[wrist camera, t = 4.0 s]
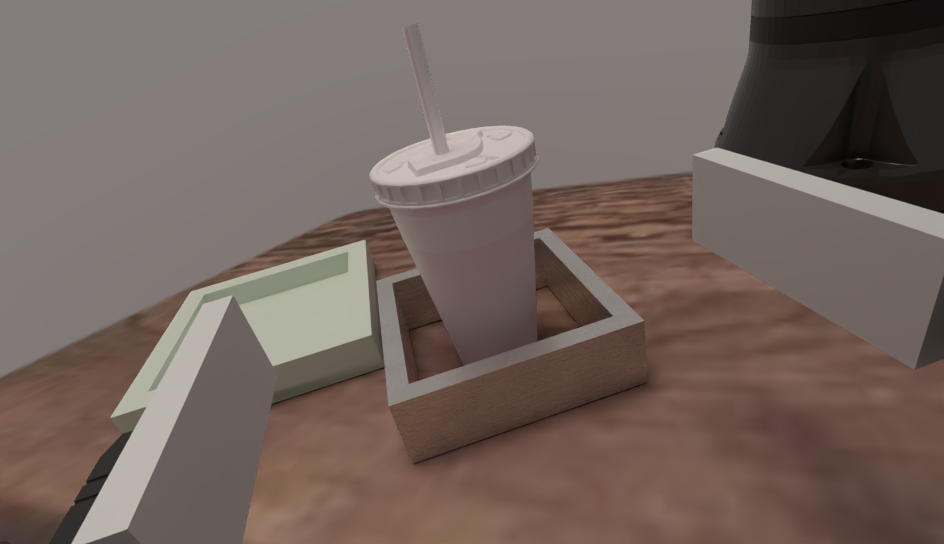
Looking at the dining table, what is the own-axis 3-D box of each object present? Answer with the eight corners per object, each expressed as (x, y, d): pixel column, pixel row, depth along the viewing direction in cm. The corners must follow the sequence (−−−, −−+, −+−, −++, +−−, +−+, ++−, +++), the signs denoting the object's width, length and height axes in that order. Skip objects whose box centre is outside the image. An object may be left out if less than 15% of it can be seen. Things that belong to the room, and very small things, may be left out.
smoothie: (408, 385, 21) (282, 58, 15) (470, 305, 26) (396, 28, 19) (540, 413, 18) (456, 14, 12) (584, 316, 23) (542, -9, 16)
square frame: (555, 274, 27) (548, 228, 25) (647, 381, 19) (644, 320, 17) (393, 326, 26) (376, 280, 25) (412, 463, 18) (388, 406, 16)
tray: (374, 264, 34) (365, 239, 33) (384, 366, 23) (371, 334, 22) (205, 315, 32) (190, 291, 31) (135, 448, 22) (110, 418, 21)
